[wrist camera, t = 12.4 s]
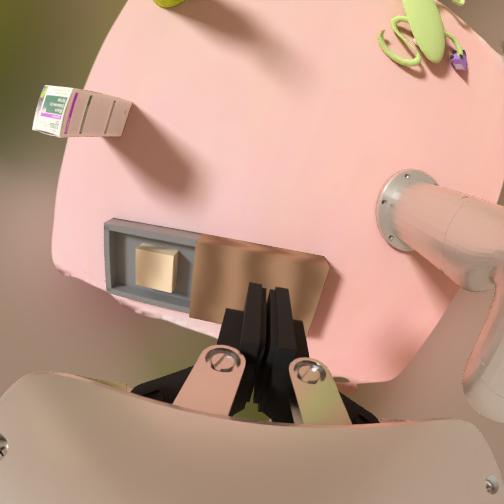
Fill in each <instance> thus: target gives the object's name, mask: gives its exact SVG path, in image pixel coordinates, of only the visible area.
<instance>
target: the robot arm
mask: <svg viewBox="0 0 504 504" xmlns="http://www.w3.org/2000/svg"><path fill="white" fill-rule="evenodd" d="M405 174H406V177H405ZM382 201H383V203H382ZM376 220H377V225H378V228H379V230H380V233H381V234H382V236H383V237H384V239H385V240H386V241H387V242H388V243H389V244H390V245H392V246H393V247H395V248H397V249H399V250H402V251H417V252H418V253H419V254H420V255H422V256H423V257H424V258H426V259H427V260H428V261H429V262H431V263H432V264H433V265H434V266H436V267H437V268H438V269H439V270H441V271H442V272H443V273H444V274H445V275H447V276H448V277H449V278H450V279H451V280H453V281H454V282H455V283H456V284H457V285H459V286H460V287H462V288H463V289H465V290H468V291H472V292H481V291H482V292H483V291H487V290H491V289H494V288H495V295H494V298H493V301H492V305H491V307H490V312H489V315H488V317H487V320H486V322H485V324H484V327H483V329H482V331H481V334H480V336H479V338H478V340H477V342H476V345H475V347H474V349H473V351H472V353H471V355H470V357H469V359H468V362H467V364H466V366H465V370H464V373H463V381H462V384H463V391H464V394H465V397H466V399H467V401H468V402H469V404H470V405H471V406H472V407H473V408H474V409H475V410H476V411H477V412H479V413H480V414H482V415H483V416H485V417H487V418H489V419H492V420H494V421H498V422H502V423H504V207H503V206H501V205H498V204H495V203H492V202H489V201H486V200H483V199H479V198H476V197H473V196H470V195H467V194H464V193H461V192H457V191H454V190H451V189H447V188H444V187H440V186H439V185H438V184H437V182H436V181H435V180H434V179H433V178H432V177H431V176H430V175H429V174H427V173H425V172H423V171H419V170H413V169H409V170H403V171H400V172H398V173H396V174H395V175H393V176H392V177H391V178H390V179H389V180H388V181H387V182H386V183H385V185H384V186H383V188H382V190H381V192H380V194H379V197H378V200H377V206H376ZM389 236H390V237H389ZM266 290H267V289H266V288H262V284H259V283H253V282H249V286H248V291H247V296H246V301H245V307H244V311H241V310H235V309H230V308H226V310H225V314H224V318H223V322H222V326H221V330H220V334H219V338H218V342H217V345H214V346H210V347H208V348H206V349H205V350H204V351H203V352H202V353H201V355H200V357H199V358H198V360H197V362H196V364H195V365H194V366H192V367H189V368H187V369H184V370H181V371H178V372H176V373H172V374H169V375H167V376H164V377H161V378H158V379H155V380H152V381H149V382H145V383H142V384H140V385H138V386H136V387H134V388H128V387H127V385H126V384H121V383H114V382H109V381H103V380H97V379H92V378H87V377H82V376H77V375H71V374H66V373H58V372H47V371H45V372H44V371H42V372H33V373H30V374H27V375H26V376H24V377H22V378H21V379H19V380H18V381H17V382H15V383H14V384H13V385H12V386H11V387H10V388H9V389H8V390H7V391H6V392H5V393H4V394H3V396H2V397H1V398H0V504H504V482H503V479H502V476H501V474H500V471H499V469H498V466H497V464H496V461H495V459H494V457H493V454H492V452H491V450H490V448H489V446H488V444H487V443H486V441H485V439H484V437H483V436H482V434H481V433H480V431H479V430H478V429H477V428H476V427H475V426H474V425H473V424H471V423H469V422H466V421H463V420H458V419H453V418H429V419H419V420H409V421H406V420H397V419H388V418H381V419H380V420H378V419H377V418H376V417H375V416H374V415H373V414H372V413H370V412H368V411H367V410H365V409H364V408H362V407H361V406H359V405H358V404H356V403H355V402H353V401H352V400H350V399H349V398H347V397H346V396H345V395H343V394H342V393H340V392H339V391H338V389H337V387H336V385H335V382H334V381H333V378H332V376H331V373H330V371H329V369H328V368H327V367H326V366H325V365H324V364H323V363H322V362H320V361H318V360H316V359H312V358H309V352H308V347H307V341H306V335H305V330H304V325H303V321H302V320H295V319H293V317H292V309H291V302H290V295H289V289H287V288H281V287H275V289H274V290H273V289H270V291H269V295H268V299H267V303H266ZM253 388H254V397H253V403H258V411H259V412H263V413H265V414H266V415H267V416H268V417H269V418H268V421H259V420H251V419H244V418H237V417H233V415H234V414H236V413H237V412H239V411H241V410H243V409H244V408H245V404H246V402H249V401H250V398H251V395H252V392H253Z"/></svg>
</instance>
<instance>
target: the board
mask: <svg viewBox="0 0 504 504" xmlns="http://www.w3.org/2000/svg"><path fill="white" fill-rule="evenodd" d="M329 268H330V267H329V265H328V263H327V261H326V259H325V257H324V256H319V255H314V254H309V253H304V252H299V251H293V250H288V249H283V248H277V247H272V246H267V245H261V244H256V243H251V242H245V241H240V240H234V239H229V238H224V237H218V236H213V235H207V234H202V235H201V237H200V238H199V239H198V240H197V242H196V247H195V256H194V266H193V276H192V288H191V300H190V313H189V317H190V318H195V319H200V320H204V321H209V322H214V323H219V324H222V322H223V318H224V314H225V310H226V308H230V309H235V310H241V311H244V307H245V301H246V296H247V291H248V286H249V282H253V283H259V284H262V288H266V289H267V290H266V303H267V299H268V295H269V291H270V289H273V290H274V289H275V287H281V288H287V289H289V295H290V302H291V309H292V317H293V319H295V320H302V321H303V325H304V330H305V335H306V337H307V334H308V331H309V329H310V326H311V323H312V320H313V317H314V314H315V311H316V309H317V306H318V303H319V300H320V297H321V294H322V290H323V287H324V284H325V281H326V278H327V275H328V271H329Z"/></svg>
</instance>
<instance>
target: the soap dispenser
mask: <svg viewBox="0 0 504 504" xmlns="http://www.w3.org/2000/svg"><path fill="white" fill-rule="evenodd" d="M153 1H154V2H155V3H156V4H157V5H158V6H160V7H172V6H175V5H178V4H180V3H181V2H183V1H184V0H153Z"/></svg>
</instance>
